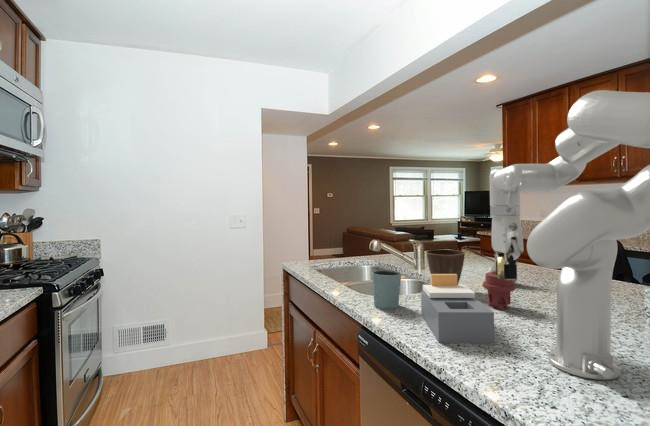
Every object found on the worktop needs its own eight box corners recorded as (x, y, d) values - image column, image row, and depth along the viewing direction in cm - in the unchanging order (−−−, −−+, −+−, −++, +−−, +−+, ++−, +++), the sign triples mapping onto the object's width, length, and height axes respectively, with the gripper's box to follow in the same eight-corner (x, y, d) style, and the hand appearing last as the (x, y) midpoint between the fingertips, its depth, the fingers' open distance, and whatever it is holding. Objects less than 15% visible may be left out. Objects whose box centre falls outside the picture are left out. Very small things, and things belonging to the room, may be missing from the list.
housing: (494, 343, 89) (494, 312, 89) (438, 342, 90) (438, 312, 90) (465, 315, 111) (465, 290, 111) (421, 315, 112) (421, 290, 112)
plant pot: (461, 297, 131) (461, 255, 131) (422, 292, 139) (421, 253, 139) (468, 288, 144) (467, 250, 144) (431, 284, 152) (431, 248, 151)
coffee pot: (519, 283, 152) (519, 249, 151) (513, 288, 143) (513, 252, 142) (469, 277, 165) (469, 246, 165) (461, 282, 156) (460, 248, 156)
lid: (475, 298, 101) (475, 280, 101) (429, 297, 102) (429, 281, 102) (464, 289, 111) (463, 273, 111) (422, 289, 112) (422, 273, 112)
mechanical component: (510, 303, 123) (519, 312, 113) (479, 302, 125) (487, 310, 115) (509, 268, 122) (519, 274, 113) (479, 268, 124) (486, 274, 115)
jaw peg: (518, 280, 95) (517, 258, 95) (501, 280, 96) (501, 258, 95) (510, 276, 100) (510, 256, 100) (494, 277, 100) (494, 256, 100)
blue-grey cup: (367, 303, 126) (367, 270, 125) (391, 300, 129) (391, 268, 129) (381, 311, 116) (381, 276, 116) (407, 308, 120) (406, 273, 119)
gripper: (534, 212, 89) (536, 283, 89) (505, 211, 106) (506, 271, 106) (504, 212, 89) (505, 283, 89) (480, 212, 106) (481, 271, 106)
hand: (506, 276), depth 98 cm, fingers closed on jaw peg, 4 cm apart
